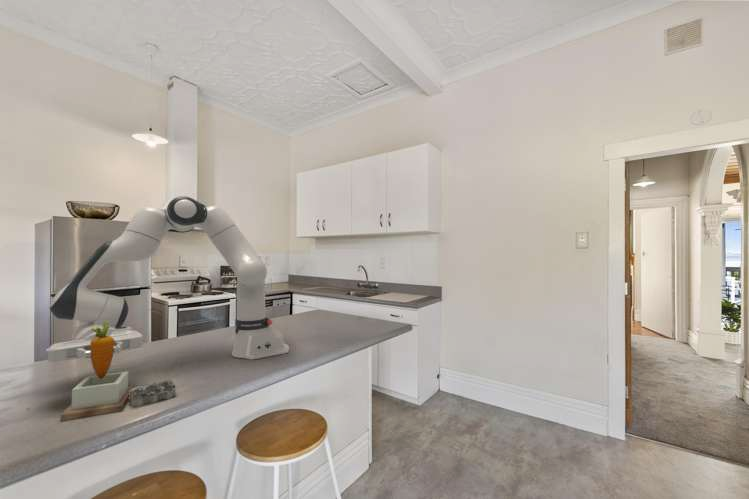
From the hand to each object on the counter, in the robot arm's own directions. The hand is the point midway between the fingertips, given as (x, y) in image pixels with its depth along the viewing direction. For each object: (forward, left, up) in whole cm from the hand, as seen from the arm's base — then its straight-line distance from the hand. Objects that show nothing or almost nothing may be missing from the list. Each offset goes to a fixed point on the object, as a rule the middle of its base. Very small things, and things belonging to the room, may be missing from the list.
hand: (102, 352), depth 85 cm
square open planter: (0, -1, -13) cm, 13 cm away
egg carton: (-11, +1, -15) cm, 19 cm away
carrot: (0, -1, -8) cm, 8 cm away
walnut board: (0, -1, -14) cm, 14 cm away
